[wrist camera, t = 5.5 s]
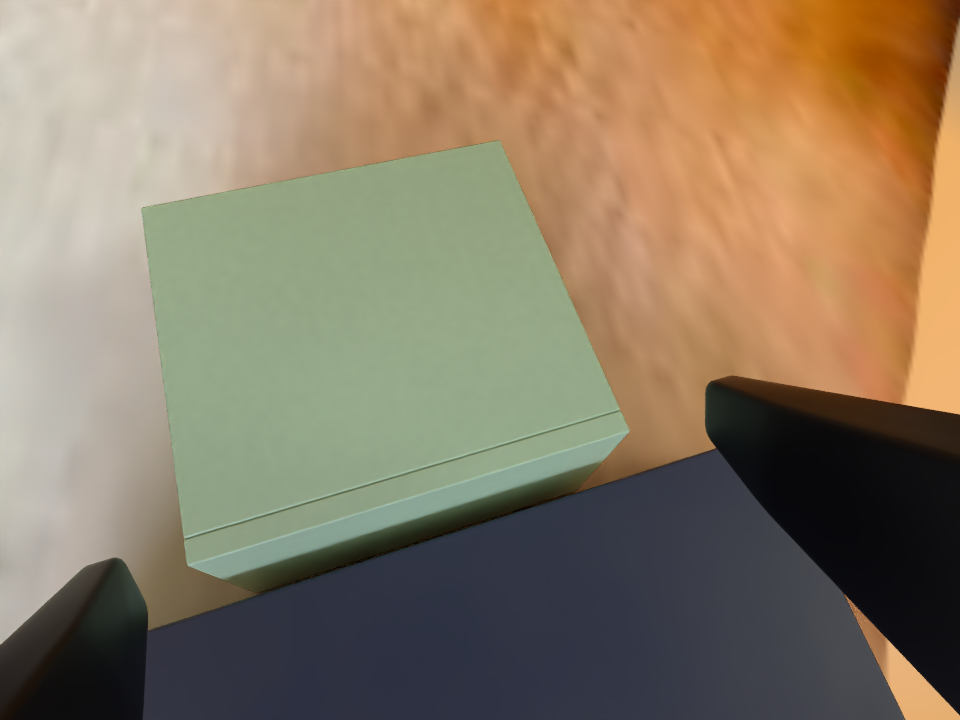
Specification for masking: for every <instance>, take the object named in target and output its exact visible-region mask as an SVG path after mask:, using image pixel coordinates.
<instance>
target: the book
mask: <svg viewBox="0 0 960 720" xmlns="http://www.w3.org/2000/svg"><path fill="white" fill-rule="evenodd" d="M143 720H905V718H904V716H903V714H902V712H901V710H900V708H899V706H898V703H897V701H896V699H895V698H894V695H893V693H892V691H891V689H890V687H889V685H888V683H887V681H886V679H885V677H884V675H883V673H882V671H881V669H880V667H879V665H878V663H877V661H876V659H875V657H874V654H873V652H872V650H871V648H870V646H869V644H868V642H867V640H866V638H865V636H864V634H863V632H862V630H861V628H860V626H859V624H858V622H857V620H856V618H855V616H854V614H853V612H852V610H851V608H850V605H849V603H848V601H847V599H846V597H845V595H844V593H843V592H842V591H841V590H840V589H839V588H838V587H837V586H836V585H835V583H834V582H833V581H832V580H831V579H830V578H829V577H828V576H827V575H826V574H825V573H824V572H823V571H822V570H821V569H820V568H819V567H818V566H817V565H816V563H815V562H814V561H813V560H812V559H811V558H810V557H809V556H808V555H807V554H806V553H805V552H804V551H803V550H802V549H801V548H800V547H799V546H798V545H797V543H796V542H795V541H794V540H793V539H792V538H791V537H790V536H789V535H788V534H787V533H786V532H785V531H784V530H783V529H782V528H781V527H780V526H779V525H778V523H777V522H776V521H775V520H774V519H773V518H772V517H771V516H770V515H769V514H768V513H767V511H766V510H765V509H764V508H763V507H762V506H761V504H760V503H759V502H758V501H757V500H756V498H755V497H754V496H753V495H752V493H751V492H750V491H749V489H748V488H747V487H746V486H745V484H744V483H743V482H742V480H741V479H740V478H739V476H738V475H737V474H736V473H735V471H734V470H733V469H732V467H731V466H730V465H729V464H728V462H727V461H726V460H725V458H724V457H723V456H722V454H721V453H720V452H719V451H718V449H717V448H715V449H712V450H709V451H706V452H703V453H700V454H697V455H693V456H690V457H687V458H684V459H681V460H678V461H675V462H672V463H669V464H665V465H662V466H659V467H656V468H653V469H650V470H647V471H644V472H640V473H637V474H634V475H631V476H628V477H625V478H622V479H619V480H616V481H612V482H609V483H606V484H603V485H600V486H597V487H594V488H591V489H587V490H584V491H581V492H578V493H575V494H572V495H569V496H566V497H563V498H559V499H556V500H553V501H550V502H547V503H544V504H541V505H538V506H534V507H531V508H528V509H525V510H522V511H519V512H516V513H513V514H510V515H506V516H503V517H500V518H497V519H494V520H491V521H488V522H485V523H482V524H478V525H475V526H472V527H469V528H466V529H463V530H460V531H457V532H453V533H450V534H447V535H444V536H441V537H438V538H435V539H432V540H429V541H425V542H422V543H419V544H416V545H413V546H410V547H407V548H404V549H400V550H397V551H394V552H391V553H388V554H385V555H382V556H379V557H376V558H372V559H369V560H366V561H363V562H360V563H357V564H354V565H351V566H347V567H344V568H341V569H338V570H335V571H332V572H329V573H326V574H323V575H319V576H316V577H313V578H310V579H307V580H304V581H301V582H298V583H295V584H291V585H288V586H285V587H282V588H279V589H276V590H273V591H270V592H266V593H263V594H260V595H257V596H254V597H251V598H248V599H245V600H242V601H238V602H235V603H232V604H229V605H226V606H223V607H220V608H217V609H213V610H210V611H207V612H204V613H201V614H198V615H195V616H192V617H189V618H185V619H182V620H179V621H176V622H173V623H170V624H167V625H164V626H160V627H157V628H154V629H151V630H148V631H147V651H146V671H145V691H144V710H143Z"/></svg>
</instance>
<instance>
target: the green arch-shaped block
mask: <svg viewBox="0 0 960 720" xmlns="http://www.w3.org/2000/svg"><path fill="white" fill-rule="evenodd" d="M142 218H143V226H144V234H145V241H146V249H147V257H148V265H149V272H150V280H151V288H152V296H153V304H154V311H155V319H156V327H157V335H158V343H159V350H160V358H161V366H162V374H163V381H164V389H165V397H166V405H167V413H168V420H169V428H170V436H171V444H172V451H173V459H174V467H175V475H176V483H177V490H178V498H179V506H180V514H181V522H182V529H183V537H184V538H185V540H184V546H185V554H186V561H187V565H188V566H189V567H192V568H194V569H197V570H199V571H202V572H204V573H207V574H209V575H212V576H215V577H217V578H220V579H222V580H225V581H227V582H230V583H232V584H235V585H237V586H240V587H242V588H245V589H247V590H250V591H253V592H255V593H258V592H261V591H264V590H267V589H270V588H274V587H277V586H280V585H283V584H286V583H289V582H292V581H295V580H299V579H302V578H305V577H308V576H311V575H314V574H317V573H320V572H324V571H327V570H330V569H333V568H336V567H339V566H342V565H345V564H349V563H352V562H355V561H358V560H361V559H364V558H367V557H370V556H374V555H377V554H380V553H383V552H386V551H389V550H392V549H395V548H399V547H402V546H405V545H408V544H411V543H414V542H417V541H420V540H424V539H427V538H430V537H433V536H436V535H439V534H442V533H445V532H449V531H452V530H455V529H458V528H461V527H464V526H467V525H470V524H474V523H477V522H480V521H483V520H486V519H489V518H492V517H495V516H499V515H502V514H505V513H508V512H511V511H514V510H517V509H520V508H524V507H527V506H530V505H533V504H536V503H539V502H542V501H545V500H549V499H552V498H555V497H558V496H561V495H564V494H567V493H570V492H574V491H577V490H578V489H579V488H580V487H581V485H582V484H583V483H584V482H585V481H586V480H587V479H588V478H589V476H590V475H591V474H592V473H593V472H594V471H595V470H596V469H597V467H598V466H599V465H600V464H601V463H602V462H603V461H604V460H605V458H606V457H607V456H608V455H609V454H610V453H611V452H612V451H613V450H614V448H615V447H616V446H617V445H618V444H619V443H620V442H621V441H622V439H623V438H624V437H625V436H626V435H627V434H628V433H629V432H630V430H629V427H628V425H627V423H626V421H625V418H624V416H623V414H622V412H621V411H619V410H620V408H619V405H618V403H617V401H616V399H615V396H614V394H613V392H612V390H611V387H610V385H609V383H608V381H607V378H606V376H605V374H604V372H603V370H602V367H601V365H600V363H599V361H598V358H597V356H596V354H595V352H594V349H593V347H592V345H591V343H590V340H589V338H588V336H587V334H586V332H585V329H584V327H583V325H582V323H581V320H580V318H579V316H578V314H577V311H576V309H575V307H574V305H573V303H572V300H571V298H570V296H569V294H568V291H567V289H566V287H565V285H564V282H563V280H562V278H561V276H560V273H559V271H558V269H557V267H556V265H555V262H554V260H553V258H552V256H551V253H550V251H549V249H548V247H547V244H546V242H545V240H544V238H543V235H542V233H541V231H540V229H539V227H538V224H537V222H536V220H535V218H534V215H533V213H532V211H531V209H530V206H529V204H528V202H527V200H526V197H525V195H524V193H523V191H522V189H521V186H520V184H519V182H518V180H517V177H516V175H515V173H514V171H513V168H512V166H511V164H510V162H509V159H508V157H507V155H506V153H505V151H504V148H503V146H502V144H501V142H500V140H497V141H492V142H487V143H481V144H476V145H471V146H465V147H460V148H455V149H450V150H444V151H439V152H434V153H428V154H423V155H418V156H413V157H407V158H402V159H397V160H391V161H386V162H381V163H376V164H370V165H365V166H360V167H354V168H349V169H344V170H338V171H333V172H328V173H323V174H317V175H312V176H307V177H301V178H296V179H291V180H286V181H280V182H275V183H270V184H264V185H259V186H254V187H249V188H243V189H238V190H233V191H227V192H222V193H217V194H212V195H206V196H201V197H196V198H190V199H185V200H180V201H175V202H169V203H164V204H159V205H153V206H148V207H143V208H142Z"/></svg>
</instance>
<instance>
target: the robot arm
mask: <svg viewBox="0 0 960 720" xmlns="http://www.w3.org/2000/svg"><path fill="white" fill-rule="evenodd" d="M705 427H706V432H707V434H708V436H709V438H710V440H711V442H712V443H713V444H714V445H715V447H716V448H717V449H718V451H719V452H720V453H721V454H722V456H723V457H724V458H725V460H726V461H727V462H728V464H729V465H730V466H731V467H732V469H733V470H734V471H735V473H736V474H737V475H738V476H739V478H740V479H741V480H742V482H743V483H744V484H745V486H746V487H747V488H748V489H749V491H750V492H751V493H752V495H753V496H754V497H755V498H756V500H757V501H758V502H759V503H760V504H761V506H762V507H763V508H764V509H765V510H766V511H767V513H768V514H769V515H770V516H771V517H772V518H773V519H774V520H775V521H776V522H777V523H778V525H779V526H780V527H781V528H782V529H783V530H784V531H785V532H786V533H787V534H788V535H789V536H790V537H791V538H792V539H793V540H794V541H795V542H796V543H797V545H798V546H799V547H800V548H801V549H802V550H803V551H804V552H805V553H806V554H807V555H808V556H809V557H810V558H811V559H812V560H813V561H814V562H815V563H816V565H817V566H818V567H819V568H820V569H821V570H822V571H823V572H824V573H825V574H826V575H827V576H828V577H829V578H830V579H831V580H832V581H833V582H834V583H835V585H836V586H837V587H838V588H839V589H840V590H841V591H842V592H843V593H844V594H845V595H846V596H847V597H848V598H849V599H850V600H851V601H852V602H853V603H854V605H855V606H856V607H857V608H858V609H859V610H860V611H861V612H862V613H863V614H864V615H865V616H866V617H867V618H868V619H869V620H870V621H871V622H872V623H873V624H874V626H875V627H876V628H877V629H878V630H879V631H880V632H881V633H882V634H883V635H884V636H885V637H886V638H887V639H888V640H889V641H890V642H891V643H892V644H893V646H894V647H895V648H896V649H898V651H899V652H900V653H901V654H902V655H903V656H904V657H905V658H906V659H907V660H908V661H909V662H910V663H911V664H912V665H913V667H914V668H915V669H916V670H917V671H918V672H919V673H920V674H921V675H922V676H923V677H924V678H925V679H926V680H927V681H928V682H929V683H930V684H931V686H932V687H933V688H934V689H935V690H936V691H937V692H938V693H939V694H940V695H941V696H942V697H943V698H944V699H945V700H946V701H947V702H948V703H949V704H950V706H951V707H953V708H954V710H955V711H956V712H957V713H958V714H959V715H960V415H959V414H953V413H948V412H942V411H936V410H930V409H924V408H918V407H912V406H907V405H901V404H895V403H889V402H884V401H878V400H872V399H866V398H860V397H855V396H849V395H843V394H837V393H831V392H825V391H820V390H814V389H808V388H802V387H796V386H791V385H785V384H779V383H773V382H767V381H762V380H756V379H750V378H744V377H738V376H727V377H724V378H720V379H717V380H714V381H711V382H710V383H709V384H708V385H707V387H706V393H705ZM147 631H148V611H147V606H146V603H145V600H144V598H143V596H142V594H141V592H140V590H139V588H138V587H137V585H136V583H135V581H134V579H133V577H132V575H131V573H130V571H129V569H128V567H127V565H126V564H125V563H124V562H123V561H122V560H121V559H119V558H111V559H108V560H105V561H101V562H98V563H95V564H91V565H88V566H86V567H84V568H83V569H82V570H81V571H80V572H79V573H78V574H76V575H75V576H74V577H73V578H72V579H71V580H70V581H69V582H68V583H67V584H66V585H65V586H64V587H62V588H61V589H60V590H59V591H58V592H57V593H56V594H55V595H54V596H53V597H52V598H51V599H50V600H48V601H47V602H46V603H45V604H44V605H43V606H42V607H41V608H40V609H39V610H38V611H37V612H36V613H34V614H33V615H32V616H31V617H30V618H29V619H28V620H27V621H26V622H25V623H24V624H23V625H22V626H20V627H19V628H18V629H17V630H16V631H15V632H14V633H13V634H12V635H11V636H10V637H9V638H8V639H6V640H5V641H4V642H3V643H2V644H1V645H0V720H143V710H144V691H145V671H146V651H147Z"/></svg>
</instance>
